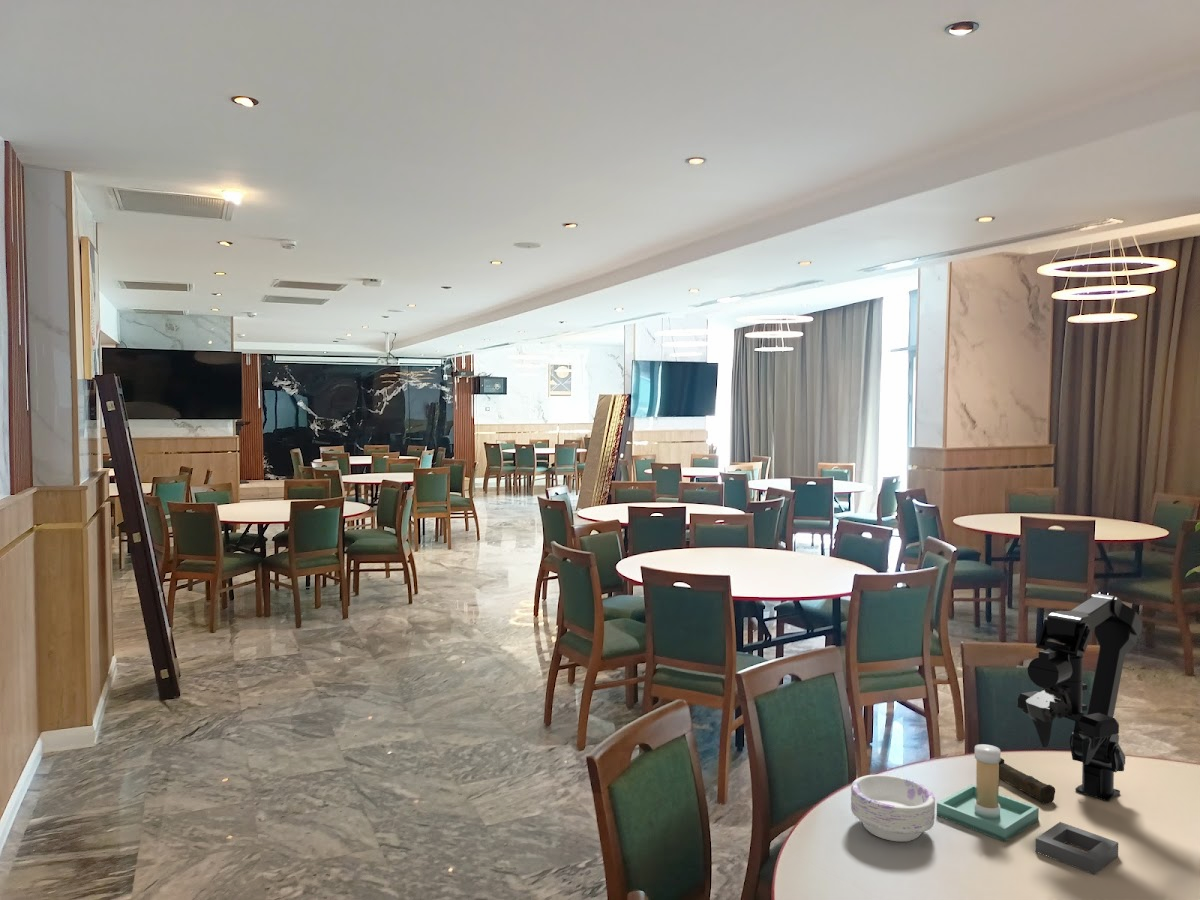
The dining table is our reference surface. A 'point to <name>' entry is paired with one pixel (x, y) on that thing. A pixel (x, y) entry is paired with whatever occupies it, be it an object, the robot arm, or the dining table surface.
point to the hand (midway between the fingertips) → (1065, 755)
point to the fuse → (987, 781)
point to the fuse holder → (1091, 861)
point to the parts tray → (1003, 828)
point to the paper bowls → (892, 806)
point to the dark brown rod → (1026, 783)
